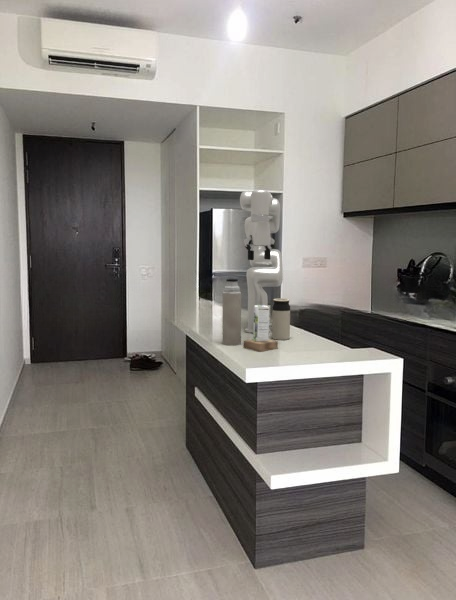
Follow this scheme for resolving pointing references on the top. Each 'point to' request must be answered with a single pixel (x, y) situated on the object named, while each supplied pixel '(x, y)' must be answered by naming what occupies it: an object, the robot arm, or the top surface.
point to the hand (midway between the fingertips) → (259, 259)
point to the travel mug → (281, 319)
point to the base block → (260, 345)
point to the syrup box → (261, 323)
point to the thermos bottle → (231, 313)
